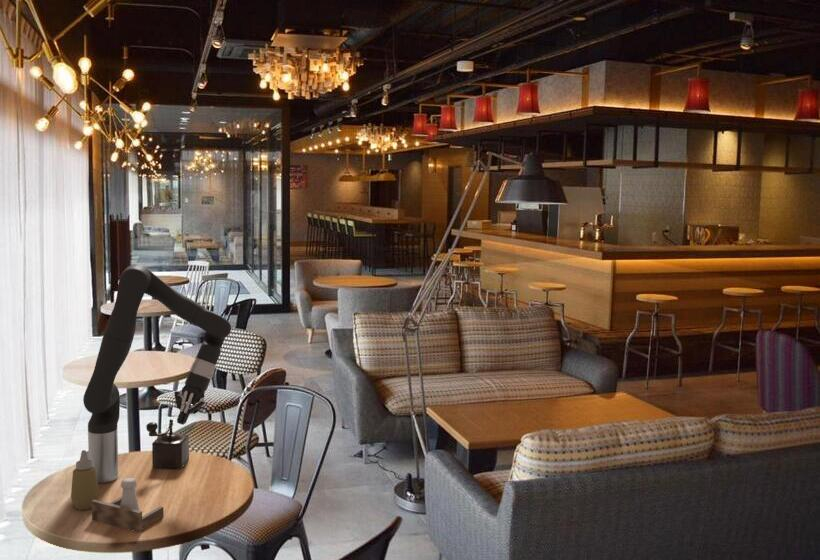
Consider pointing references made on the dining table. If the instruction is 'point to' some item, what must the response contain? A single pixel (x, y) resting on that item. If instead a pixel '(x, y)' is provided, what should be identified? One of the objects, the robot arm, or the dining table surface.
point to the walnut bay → (123, 515)
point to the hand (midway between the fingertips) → (180, 423)
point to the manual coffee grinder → (168, 448)
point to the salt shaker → (129, 494)
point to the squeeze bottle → (84, 483)
